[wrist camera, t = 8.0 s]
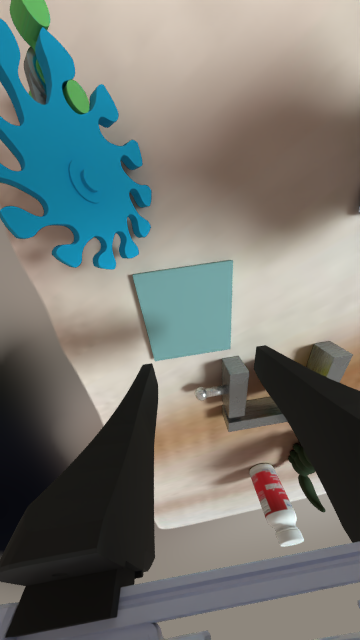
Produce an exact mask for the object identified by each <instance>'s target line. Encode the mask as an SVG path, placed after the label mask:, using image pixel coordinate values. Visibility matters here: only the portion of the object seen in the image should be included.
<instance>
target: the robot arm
mask: <svg viewBox="0 0 360 640" xmlns="http://www.w3.org/2000/svg"><path fill="white" fill-rule="evenodd" d="M359 213H360V207H359ZM254 370H255V372H256V374H257V376H258V378H259V380H260V382H261V383H262V385H263V386H264V388H265V389H266V391H267V392H268V394H269V395H270V396H271V398H272V399H273V401H274V402H275V404H276V405H277V406H278V408H279V409H280V411H281V412H282V414H283V415H284V417H285V418H286V420H287V421H288V423H289V424H290V426H291V428H292V430H293V431H294V433H295V435H296V436H297V438H298V440H299V442H300V443H301V445H302V447H303V449H304V451H305V453H306V454H307V456H308V458H309V460H310V462H311V464H312V466H313V467H314V469H315V471H316V473H317V475H318V477H319V479H320V481H321V483H322V485H323V487H324V489H325V491H326V493H327V495H328V497H329V499H330V501H331V503H332V505H333V507H334V509H335V511H336V513H337V515H338V517H339V520H340V522H341V524H342V526H343V528H344V530H345V531H346V533H347V534H348V536H349V538H350V539H351V541H352V542H353V543H350V544H344V545H339V546H334V547H329V548H323V549H318V550H313V551H308V552H302V553H297V554H292V555H287V556H282V557H277V558H272V559H266V560H261V561H256V562H250V563H245V564H240V565H235V566H230V567H224V568H219V569H214V570H209V571H204V572H199V573H194V574H188V575H183V576H178V577H172V578H167V579H162V580H157V581H152V582H146V583H142V584H136V585H134V579H136V578H141V577H143V572H146V571H148V570H149V569H150V567H151V565H152V563H153V561H154V558H155V546H154V545H155V544H154V439H155V428H156V418H157V407H158V383H157V379H156V376H155V372H154V368H153V365H152V364H145V365H143V366H142V367H141V369H140V371H139V373H138V375H137V377H136V379H135V380H134V382H133V384H132V386H131V387H130V389H129V391H128V392H127V394H126V396H125V397H124V399H123V400H122V402H121V403H120V405H119V406H118V408H117V409H116V411H115V412H114V413H113V415H112V416H111V417H110V419H109V420H108V421H107V423H106V424H105V425H104V427H103V428H102V429H101V430H100V432H99V433H98V434H97V435H96V436H95V438H94V439H93V440H92V441H91V442H90V444H89V445H88V446H87V447H86V448H85V449H84V450H83V452H82V453H81V454H80V455H79V456H78V457H77V458H76V459H75V460H74V461H73V462H72V463H71V464H70V466H69V467H68V468H67V469H66V470H65V471H64V472H63V473H62V474H61V475H60V476H59V477H58V478H57V479H56V480H55V481H54V482H53V483H52V484H51V485H50V486H49V487H48V488H47V489H46V490H45V491H44V492H43V493H42V494H41V495H40V496H39V497H38V498H37V499H36V500H34V502H32V503H31V504H30V505H29V506H28V508H27V509H26V511H25V513H24V515H23V517H22V518H21V520H20V522H19V524H18V526H17V528H16V530H15V532H14V534H13V536H12V538H11V539H10V542H9V543H8V545H7V548H6V549H5V552H4V553H3V555H2V557H1V559H0V581H1V582H6V583H11V584H17V585H23V586H26V587H25V589H24V592H23V594H22V597H21V599H20V602H19V603H8V604H2V605H0V640H211V636H210V633H209V632H208V631H202V632H196V633H191V634H186V635H181V636H176V637H172V638H168V639H164V638H163V636H162V632H161V629H160V627H159V625H158V624H157V622H162V621H167V620H172V619H176V618H182V617H187V616H192V615H197V614H202V613H207V612H212V611H217V610H222V609H227V608H233V607H237V606H243V605H248V604H252V603H258V602H263V601H268V600H273V599H278V598H282V597H288V596H293V595H298V594H303V593H308V592H312V591H318V590H323V589H328V588H333V587H338V586H343V585H348V584H353V583H358V582H360V391H358V390H356V389H353V388H351V387H348V386H346V385H343V384H341V383H339V382H336V381H334V380H332V379H329V378H327V377H325V376H323V375H321V374H319V373H317V372H315V371H313V370H311V369H309V368H307V367H305V366H303V365H301V364H299V363H297V362H295V361H293V360H291V359H290V358H288V357H286V356H284V355H282V354H281V353H279V352H277V351H275V350H273V349H271V348H270V347H268V346H266V345H265V346H258V347H256V355H255V363H254ZM358 606H359V608H360V600H358ZM313 640H360V632H356V633H349V634H343V635H337V636H331V637H325V638H319V639H313Z"/></svg>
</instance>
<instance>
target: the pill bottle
mask: <svg viewBox="0 0 360 640" xmlns="http://www.w3.org/2000/svg"><path fill="white" fill-rule="evenodd" d="M249 473H250V476H251V479H252V482H253V485H254V487H255V490H256V493H257V496H258V498H259V501H260V504H261V507H262V509H263V512H264V515H265V518H266V520H267V522H268V524H269V525H270V526H271V527H272V528H274V529H275V531H276V537H277V539H278V542H279V544H280V546H291V545H295V544H299V543H301V542H303V541H304V539H303V536H302V534H301V532H300V530H299V529H298V528H297V527H296V524H295V523H296V520H297V518H296V514H295V511H294V509H293V507H292V505H291V503H290V501H289V499H288V497H287V495H286V493H285V491H284V488H283V486H282V484H281V482H280V480H279V478H278V476H277V474H276V472H275V470H274V468H273V466H272V465H270V464H265V463H264V464H258V465H256V466H254V467H252V468H251V469H250V472H249Z"/></svg>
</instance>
